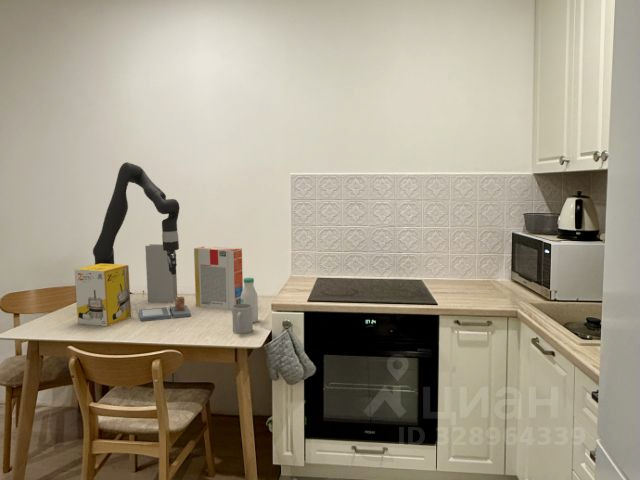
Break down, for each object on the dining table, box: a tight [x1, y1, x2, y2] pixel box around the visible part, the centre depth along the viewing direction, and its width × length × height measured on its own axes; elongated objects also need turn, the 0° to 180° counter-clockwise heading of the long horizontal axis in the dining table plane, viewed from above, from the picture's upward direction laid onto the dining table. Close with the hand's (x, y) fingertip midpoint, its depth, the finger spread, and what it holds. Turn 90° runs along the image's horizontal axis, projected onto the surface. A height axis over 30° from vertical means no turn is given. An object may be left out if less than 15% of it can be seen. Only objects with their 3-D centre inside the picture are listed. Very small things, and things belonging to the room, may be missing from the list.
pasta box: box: [193, 245, 244, 311], centre depth 262 cm, size 23×8×30 cm, turn 69°
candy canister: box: [241, 277, 259, 323], centre depth 235 cm, size 8×8×20 cm
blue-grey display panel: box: [138, 306, 173, 322], centre depth 246 cm, size 14×16×2 cm
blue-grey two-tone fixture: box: [169, 296, 192, 319], centre depth 250 cm, size 8×16×8 cm, turn 21°
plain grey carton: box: [145, 244, 178, 303], centre depth 274 cm, size 14×6×30 cm, turn 84°
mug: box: [231, 304, 254, 335], centre depth 220 cm, size 12×8×11 cm
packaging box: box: [74, 263, 132, 327], centre depth 238 cm, size 16×16×25 cm
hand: (172, 273), depth 253 cm, fingers open, 8 cm apart
